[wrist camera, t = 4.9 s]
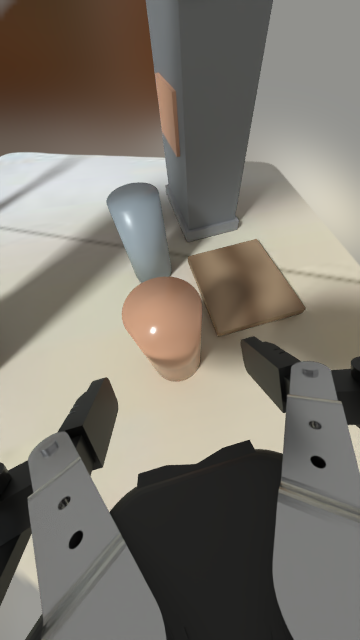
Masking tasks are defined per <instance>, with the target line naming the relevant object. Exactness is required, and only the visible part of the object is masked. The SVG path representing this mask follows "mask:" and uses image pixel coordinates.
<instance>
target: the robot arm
mask: <svg viewBox="0 0 360 640" xmlns="http://www.w3.org/2000/svg"><path fill="white" fill-rule="evenodd" d="M241 348H242V354H243V360H244V365H245V368H246V370H247V372H248V374H249V375H250V376H251V377H252V378H253V379H254V380H255V381H256V383H257V384H258V385H259V386H260V387H261V388H262V389H263V391H264V392H265V393H266V394H267V395H268V396H269V397H270V398H271V400H272V401H273V402H274V403H275V404H276V405H277V406H278V408H279V409H280V410H281V411H282V412H283V413H285V412H286V420H285V434H284V448H283V454H282V453H278V452H275V451H270V450H263V449H254V447H253V445H252V444H251V442H250V440H247V441H244V442H240V443H237V444H234V445H231V446H227V447H224V448H222V449H220V450H219V451H217V452H215V453H214V454H212V455H210V456H209V457H207V458H206V459H204V460H202V461H201V462H199V463H197V464H190V465H166V466H163V467H159V468H156V469H153V470H150V471H146V472H143V473H140V474H138V483H137V487H135V488H134V489H132V490H131V491H130V492H128V493H127V494H126V495H125V496H124V497H123V498H122V499H121V500H120V501H119V502H118V503H117V504H116V505H115V506H114V507H113V508H112V510H111V511H110V512H109V511H108V509H107V507H106V505H105V503H104V501H103V500H102V498H101V496H100V494H99V492H98V490H97V488H96V486H95V484H94V482H93V481H92V479H91V477H90V476H91V472H92V470H96V469H99V468H102V467H103V465H104V461H105V457H106V454H107V450H108V446H109V443H110V439H111V435H112V431H113V428H114V424H115V420H116V417H117V413H118V402H117V398H116V396H115V393H114V391H113V388H112V386H111V384H110V381H109V379H108V378H107V377H106V378H102V379H99V380H95V381H93V382H92V383H91V385H90V387H89V388H88V390H87V392H85V393H84V394H83V395H82V396H80V397H79V398H78V399H77V401H76V403H75V404H74V406H73V408H72V409H71V411H70V414H68V416H67V418H66V419H65V421H64V422H63V424H62V426H61V427H60V429H59V431H58V432H57V433H55V434H53V435H51V436H49V437H47V438H46V439H44V440H43V441H42V442H40V443H39V444H38V445H37V446H36V447H35V448H34V449H33V451H32V452H31V454H30V455H29V458H28V461H26V462H24V463H22V464H20V465H18V466H16V467H14V468H12V469H10V470H7V469H6V467H5V466H4V464H3V463H0V605H1V603H2V601H3V599H4V596H5V594H6V592H7V589H8V587H9V584H10V582H11V580H12V577H13V575H14V573H15V571H16V568H17V566H18V564H19V561H20V559H21V557H22V554H23V552H24V550H25V548H26V545H27V543H28V541H29V538H30V536H31V534H32V538H33V546H34V553H35V561H36V568H37V576H38V583H39V591H40V598H41V606H42V615H41V616H40V618H39V619H38V621H37V623H36V624H35V625H34V627H33V629H32V630H31V632H30V633H29V635H28V636H27V638H26V639H25V640H360V473H359V469H358V465H357V461H356V457H355V453H354V449H353V445H352V441H351V437H350V433H349V429H348V425H356V426H357V427H359V428H360V357H356V358H354V359H353V360H352V361H351V369H343V370H330V369H329V368H328V367H327V366H325V365H323V364H321V363H318V362H312V361H303V362H301V361H300V360H298V359H297V358H295V357H293V356H292V355H290V354H289V353H287V352H285V351H284V350H282V349H280V348H279V347H278V346H276V345H275V344H272V343H268V342H262V341H260V340H259V339H257V338H256V337H254V336H253V337H249V338H246V339H242V340H241Z"/></svg>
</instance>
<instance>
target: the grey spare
mask: <svg viewBox="0 0 360 640" xmlns="http://www.w3.org/2000/svg"><path fill="white" fill-rule="evenodd" d="M107 206H108V208H109V211H110V213H111V216H112V218H113V220H114V223H115V225H116V228H117V230H118V233H119V235H120V237H121V240H122V242H123V245H124V247H125V250H126V252H127V254H128V257H129V259H130V262H131V264H132V267H133V269H134V271H135V274H136V276H137V278H138V280H139V281H140V282H142V283H143V282H145V281H147V280H149V279H153V278H157V277H169V276H170V274H171V271H172V269H171V262H170V257H169V251H168V245H167V239H166V233H165V227H164V221H163V215H162V209H161V203H160V197H159V192H158V190H157V188H156V187H155V186H153V185H151V184H148V183H131V184H126V185H123V186H121V187H119V188H117V189H115V190H114V191H113V192H112V193H111V194H110V195H109V196H108V198H107Z"/></svg>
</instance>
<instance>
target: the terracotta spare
mask: <svg viewBox="0 0 360 640" xmlns="http://www.w3.org/2000/svg"><path fill="white" fill-rule="evenodd" d="M122 320H123V324H124V326H125V328H126V330H127V331H128V333H129V334H130V335H131V337H132V338H133V339H134V341H135V342H136V343H137V345H138V346H139V347H140V349H141V350H142V351H143V353H144V354H145V356H146V357H147V358H148V360H149V361H150V362H151V364H152V365H153V366H154V368H155V369H156V370H157V372H158V373H159V374H160V375H161V376H162V377H163V378H165V379H167V380H170V381H176V382H177V381H183V380H186V379H188V378H190V377H191V376H192V375H193V374H194V373H195V372H196V371H197V369H198V367H199V364H200V354H201V325H202V302H201V298H200V296H199V294H198V292H197V291H196V289H195V288H194V287H193V286H192V285H190V284H189V283H188V282H186V281H184V280H182V279H179V278H175V277H157V278H153V279H149V280H147V281H145V282H143V283H141V284H140V285H138V286H137V287H136V288H134V289H133V290H132V291H131V292H130V294H129V295H128V296H127V298H126V300H125V302H124V305H123V308H122Z"/></svg>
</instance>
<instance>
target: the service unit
mask: <svg viewBox="0 0 360 640" xmlns="http://www.w3.org/2000/svg"><path fill="white" fill-rule="evenodd" d="M272 3H273V0H146V4H147V13H148V21H149V29H150V37H151V45H152V53H153V61H154V70H155V78H156V86H157V94H158V102H159V110H160V119H161V127H162V135H163V143H164V151H165V160H166V168H167V176H168V185H165V186H166V193H167V196H168V198H169V201H170V203H171V205H172V208H173V210H174V212H175V215H176V217H177V219H178V222H179V224H180V226H181V229H182V231H183V233H184V236H185V238H186V240H187V242H190V241H194V240H198V239H201V238H205V237H209V236H213V235H217V234H221V233H225V232H229V231H233V230H237V228H238V223H239V220H238V218H237V217H236V215H235V213H236V208H237V202H238V196H239V191H240V185H241V179H242V174H243V168H244V162H245V156H246V151H247V145H248V139H249V134H250V128H251V122H252V117H253V111H254V105H255V100H256V94H257V88H258V82H259V77H260V71H261V65H262V60H263V54H264V48H265V43H266V36H267V31H268V25H269V20H270V14H271V9H272Z"/></svg>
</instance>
